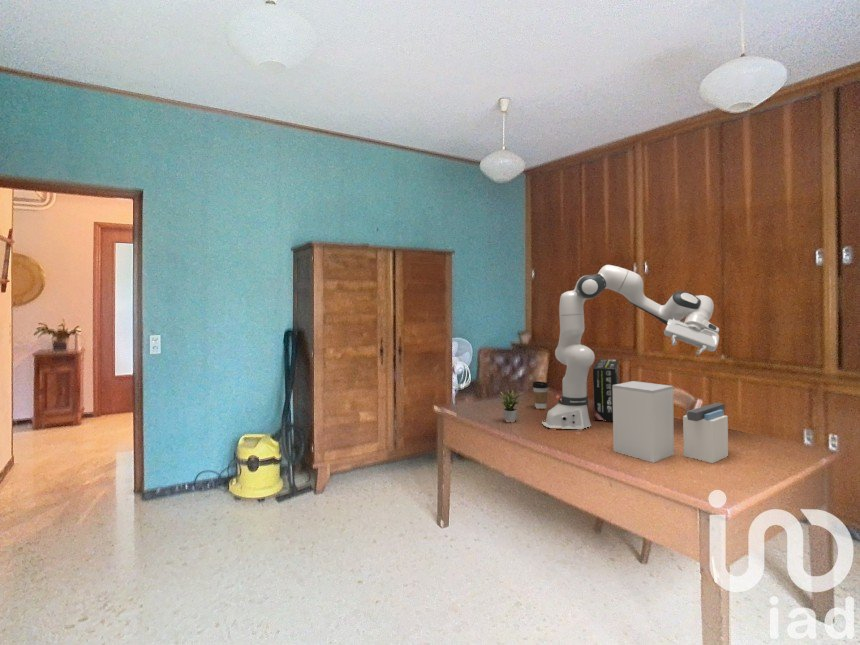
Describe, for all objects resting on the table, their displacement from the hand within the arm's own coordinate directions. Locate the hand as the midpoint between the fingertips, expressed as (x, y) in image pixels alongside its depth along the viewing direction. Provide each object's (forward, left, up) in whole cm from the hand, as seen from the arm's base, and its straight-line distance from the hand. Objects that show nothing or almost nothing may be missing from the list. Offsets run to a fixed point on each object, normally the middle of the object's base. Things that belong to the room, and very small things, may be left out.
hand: (685, 349), depth 186 cm
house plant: (-69, +31, -38) cm, 84 cm away
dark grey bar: (-3, -21, -23) cm, 31 cm away
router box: (-18, +46, -38) cm, 62 cm away
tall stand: (-24, -17, -38) cm, 48 cm away
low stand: (-4, -21, -38) cm, 43 cm away
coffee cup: (-50, +59, -38) cm, 86 cm away
